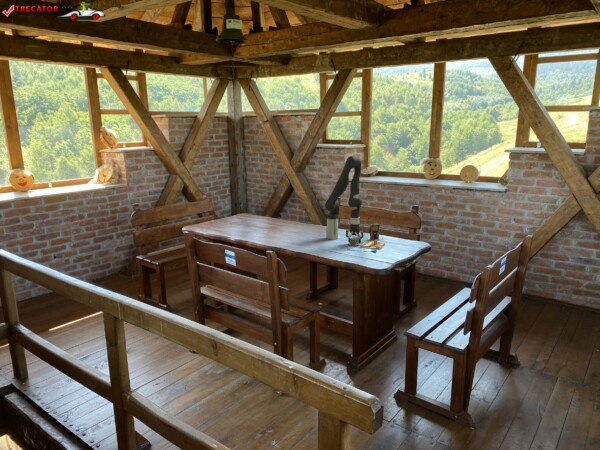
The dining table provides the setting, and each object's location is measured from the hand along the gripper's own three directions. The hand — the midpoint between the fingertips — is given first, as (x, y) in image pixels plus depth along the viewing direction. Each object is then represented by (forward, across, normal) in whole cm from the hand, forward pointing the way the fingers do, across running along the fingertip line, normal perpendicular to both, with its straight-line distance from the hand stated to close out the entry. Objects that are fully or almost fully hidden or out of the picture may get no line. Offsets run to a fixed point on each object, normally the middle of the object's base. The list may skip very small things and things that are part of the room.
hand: (354, 243), depth 356 cm
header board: (+1, +15, 0) cm, 15 cm away
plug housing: (+1, 0, 0) cm, 1 cm away
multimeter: (+1, +13, +19) cm, 23 cm away
